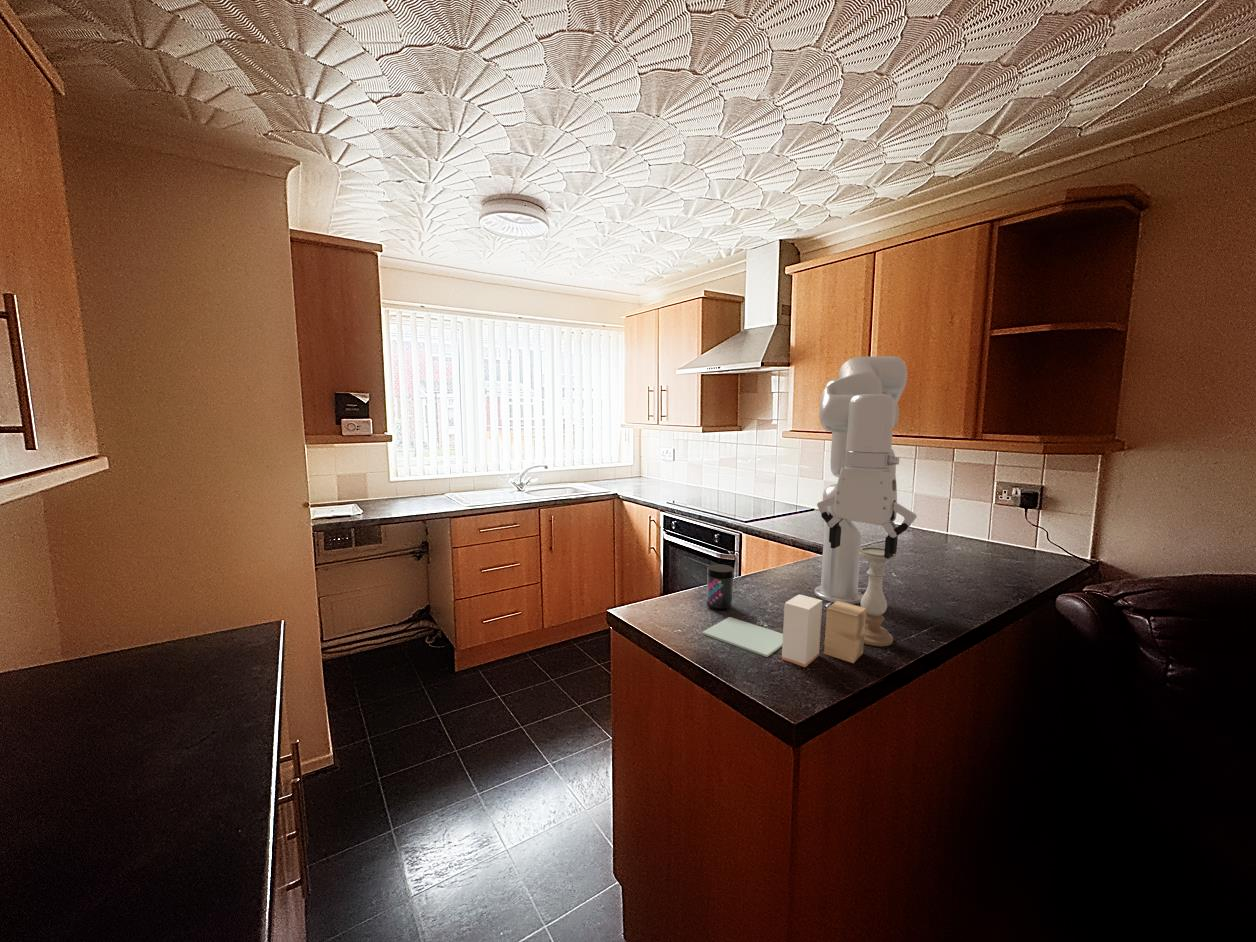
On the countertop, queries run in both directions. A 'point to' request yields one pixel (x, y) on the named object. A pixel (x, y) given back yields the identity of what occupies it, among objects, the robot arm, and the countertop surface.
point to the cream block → (801, 630)
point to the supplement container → (720, 587)
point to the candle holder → (875, 598)
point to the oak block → (845, 631)
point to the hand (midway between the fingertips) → (861, 551)
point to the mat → (746, 636)
